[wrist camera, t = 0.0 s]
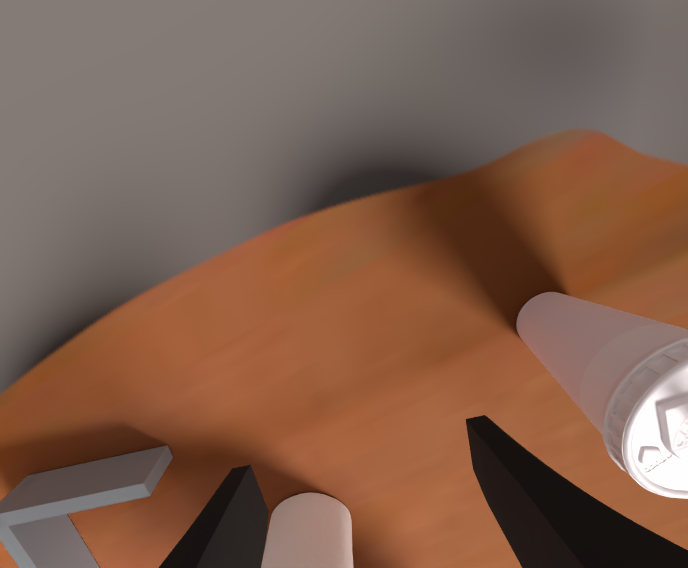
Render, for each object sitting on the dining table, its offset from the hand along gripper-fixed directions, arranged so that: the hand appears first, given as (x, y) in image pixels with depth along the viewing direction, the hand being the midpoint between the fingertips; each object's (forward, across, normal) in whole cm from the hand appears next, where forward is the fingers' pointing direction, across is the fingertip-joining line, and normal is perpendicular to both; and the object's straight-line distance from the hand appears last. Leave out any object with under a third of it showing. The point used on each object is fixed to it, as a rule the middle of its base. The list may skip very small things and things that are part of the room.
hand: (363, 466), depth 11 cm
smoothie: (+10, -12, +2) cm, 16 cm away
